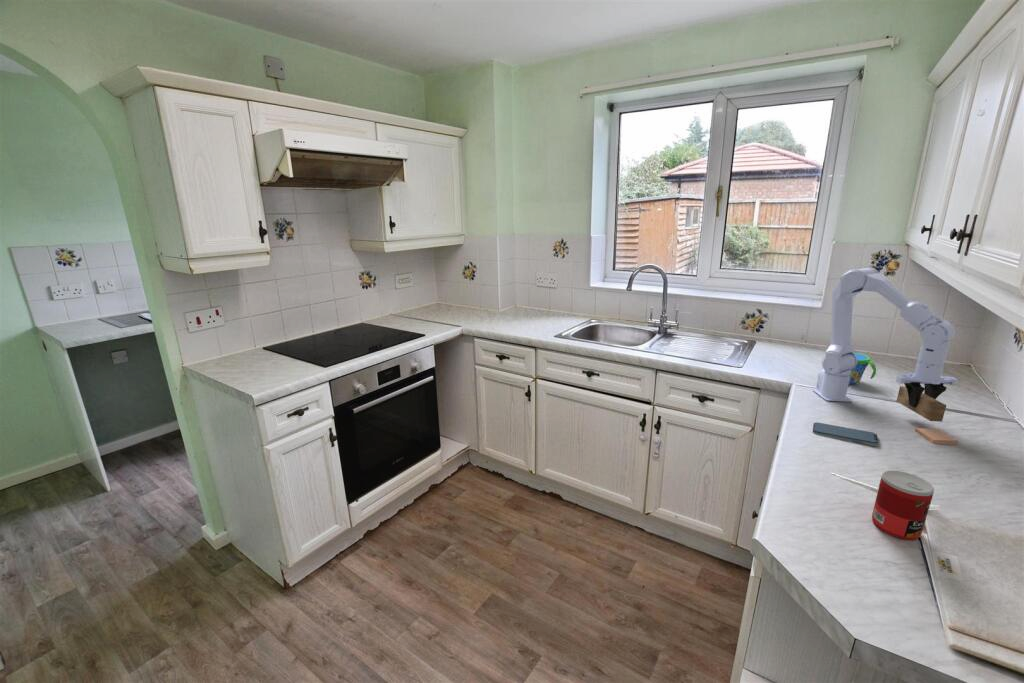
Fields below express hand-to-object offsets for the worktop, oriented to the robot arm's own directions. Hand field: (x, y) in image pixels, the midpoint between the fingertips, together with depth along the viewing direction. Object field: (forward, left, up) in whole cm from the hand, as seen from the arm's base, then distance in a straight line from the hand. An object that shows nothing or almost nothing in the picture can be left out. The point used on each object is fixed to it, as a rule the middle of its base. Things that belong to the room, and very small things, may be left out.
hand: (919, 406), depth 134 cm
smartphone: (+9, -24, -7) cm, 27 cm away
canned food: (+50, -36, -6) cm, 62 cm away
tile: (+5, 0, -6) cm, 7 cm away
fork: (+37, -31, -6) cm, 49 cm away
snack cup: (-35, 0, -6) cm, 36 cm away
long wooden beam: (0, 0, -2) cm, 2 cm away
